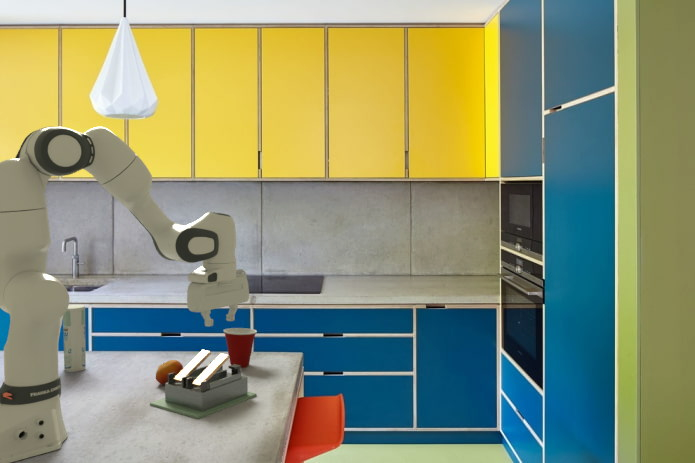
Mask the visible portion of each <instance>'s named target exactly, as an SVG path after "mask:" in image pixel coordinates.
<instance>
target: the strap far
mask: <svg viewBox="0 0 695 463" xmlns="http://www.w3.org/2000/svg"><path fill="white" fill-rule="evenodd" d="M211 355H212V353H211V351H210V350H205V349H201V351H200V352H198V353H197V355H196V356H194V358H193V359H192V360H191V361H190V362H189V363H188V364H187V365H186V366H184V367H183V370H182V371H181V372H180V373H179V374H178V375H177V376H176V377H175V378H174V381H175V382H179V383H182V377H185V376H190V375H191V374H192V373H193V372H194V371H195V370H196V369H197V368H200V365H202V364H203V363H204V362H205V361H206V360H207V359H208V358H209V357H210V356H211Z"/></svg>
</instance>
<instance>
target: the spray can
mask: <svg viewBox="0 0 695 463" xmlns="http://www.w3.org/2000/svg"><path fill="white" fill-rule="evenodd" d="M62 327H63V328H62V330H63V333H62V336H63V361H64V362H63V363H64V365H63V366H64V368H63V369H64V371H65V372H68V373H69V372H70V373H73V372H82V371H84V370H86V365H87V364H86V361H87V360H86V358H87V357H86V307H85V305H83V304H71V305H70V304H69V306H68V308H67V310H66V312H65V313H64V315H63V320H62Z"/></svg>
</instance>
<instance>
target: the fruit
mask: <svg viewBox="0 0 695 463" xmlns="http://www.w3.org/2000/svg"><path fill="white" fill-rule="evenodd" d="M183 369H184V366H183V364H182V363H181V362H180V361H179V360H176V359H175V360H174V359H170V360H167V361H166V362H163V363H161V364H160V365H159V366H158V367H157V369H156V373H155V379H156V381H157V382H158V383H159V384H160V385H161V386H164V387H165V383H168V374H170V373H173V372H174V373H175V375H178V374H179V373H180V372H181V371H182V370H183Z"/></svg>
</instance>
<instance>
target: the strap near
mask: <svg viewBox="0 0 695 463" xmlns="http://www.w3.org/2000/svg"><path fill="white" fill-rule="evenodd" d="M228 360H230V358H229V354H226V353H219V355H218V356H217V357H216V358H215V359H214V360H212V361H213V362H212V361H211V362H212V363H211V364H208V365H207V366H208V367H207V368H206V369H205V370H204V371H203V372H202V373H201V374H200V375H199V376H198V377H197V379H196V380H195V381H194V382H193V383H192V385H193V386H195V387H199V388H201V382H203V381H206V380H209V379H210V378H211V377H212V376H213V375H214V374H215V373H216V372H217V371H218V369H219V368H220V367H221V366H222V365H224V364H225V363H227V361H228Z"/></svg>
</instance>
